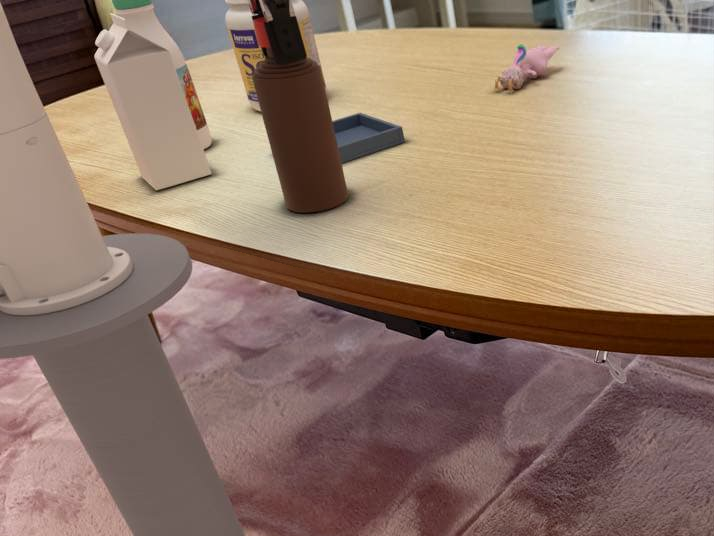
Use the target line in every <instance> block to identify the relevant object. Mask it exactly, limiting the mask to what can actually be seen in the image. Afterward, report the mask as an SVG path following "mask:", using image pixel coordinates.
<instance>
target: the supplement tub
mask: <svg viewBox="0 0 714 536" xmlns="http://www.w3.org/2000/svg"><path fill="white" fill-rule="evenodd" d="M224 2H225V4H226V5H228V6H229V8H228V9H227V11H226V13H225V16H224V19H225V25H226V28H227V32H228V35H229V39H230V43H231V45H232V48H233V52H234V56H235V59H236V62H237V65H238V69H239V73H240V76H241V79H242V83H243V86H244V89H245V93H246V96H247V101H248V102H249V105H250V106H251V107H252V108H253V109H254V110H255V111H258V112H261V109H260V106H259V102H258V98H257V94H256V91H255V87H254V83H253V79H252V75H253V71H254V70H255V69H256V68H257V66H258V65H260V64H261V61H263V60H265V56H264V55H263V52H262V49H261V47H260V46H259V44H258V40H257V36H256V32H255V28H254V24H253V20H252V16H254V15H252V13H251V11H250V8H249V4H248V0H224ZM291 2H292V5H293V8H294V11H295V16H296V18H297V21H298V25H299V29H300V32H301V36H302V39H303V43H304V47H305V50H306V54H307V58H310V59H311V60H312V61H316V62H317V65H319V66H320V67H321V72H322V76H323V81H324V85H325V90H326V91H327V84H326V80H325V76H324V71H323V68H322V62H321V59H320V55H319V50H318V47H317V46H318V45H317V43H316V38H315V33H314V29H313V25H312V22H311V21H312V20H311V17H310V12H309V9H308V6H307V5H306V3H305V2H304V1H303V0H291ZM256 15H258V14H256Z"/></svg>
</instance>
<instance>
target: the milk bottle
mask: <svg viewBox="0 0 714 536" xmlns="http://www.w3.org/2000/svg"><path fill="white" fill-rule="evenodd" d="M111 3H112V6H113V7H114V9H115V13H116V15H118V16H119V17H122V18H124V19H126V22H127V25H128V27H129V30H131V31H133V32H135V33H137V34H139V35H140V36H142V37H144V38H146V39H148V40H150V41H152V42H154V43H156V44H158V45H160V46H161V47H163V48H165V49H167V50H169V51H170V54H171V57H172V60H173V63H174V66H175V69H176V72H177V75H178V77H179V80H180V83H181V86H182V89H183V92H184V95H185V98H186V101H187V103H188V106H189V109H190V112H191V115H192V118H193V121H194V124H195V126H196V129H197V132H198V135H199V138H200V141H201V144H202V147H203V150H204V151H205V149H208V147H211V145H212V143H213V138H212V135H211V132H210V128H209V125H208V123H207V119H206V117H205V114H204V110H203V108H202V104H201V102H200V98H199V96H198V93H197V90H196V87H195V84H194V81H193V78H192V76H191V72H190V70H189V67H188V65H187V61H186V59H185V57H184V54H183V53H182V51H181V49H180V47H179V46H178V44H177V43H176V41H175V40H174V39H173V38H172V37H171V36H170V34H169V33H168V32H167V31H166V30H165V28H164V27H163V25H162V23H161V22H160V21H159V19H158V17H157V16H156V13H155V11H154V8H155V6H154V3H153V0H111Z"/></svg>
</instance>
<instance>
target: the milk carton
mask: <svg viewBox="0 0 714 536" xmlns="http://www.w3.org/2000/svg"><path fill="white" fill-rule="evenodd" d="M109 16H110V18H111V21H112V24H111V26H110V27H109V29H108V30H107V29H105V28H104V29H103V30H101V31H100V32H99V34H98V36H97V37H96V39H95V42H94V44H95V46H96V47H98V48H97V50H96V52H95V54H94V56H93V57H94V61H95V63H96V65H97V68H98V71H99V73H100V75H101V78H102V80H103V84H104V85H105V88H106V91H107V93H108V95H109V98H110V100H111V103H112V105H113V108H114V111H115V114H116V116H117V118H118V120H119V123H120V125H121V128H122V131H123V133H124V135H125V138H126V141H127V143H128V146H129V148H130V150H131V153H132V156H133V158H134V161H135V163H136V165H137V168H138V170H139V173H140V175H141V177H142V179H143V180H144V181H145V182H146V183H147V184H148V185H149V186H151V188H153V189H154V190H155V191H159V190H163V189H166V188H170V187H173V186H176V185H180V184H184V183H187V182H190V181H194V180H197V179H201V178H203V177H206V176H209V175H212V174H213V173H212V170H211V168H210V164H209V161H208V159H207V156H206V152H205V149H204V150H203V147H202V144H201V141H200V138H199V135H198V132H197V129H196V126H195V124H194V121H193V118H192V115H191V112H190V109H189V106H188V103H187V101H186V98H185V95H184V92H183V89H182V86H181V83H180V80H179V77H178V75H177V72H176V69H175V66H174V63H173V60H172V57H171V54H170V51H169V50H167V49H165V48H163V47H161V46H160V45H158V44H156V43H154V42H152V41H150V40H148V39H146V38H144V37H142V36H140V35H139V34H137V33H135V32H133V31H131V30H129V27H128V25H127V22H126V19H124V18H122V17H120V16H119V15H118V14H115V13H112V12H110V13H109Z"/></svg>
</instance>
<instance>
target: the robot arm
mask: <svg viewBox="0 0 714 536" xmlns="http://www.w3.org/2000/svg"><path fill="white" fill-rule="evenodd" d="M248 4H249V8H250V11H251V13H252V15H254V16H252V20H255V19H257V18H261V17H265V19H266V21H267V22H263V25H264V28H265V31H266V35H267V38H268V41H269V45H270V48H271V51H272V55H273V58H274V61H275V63H276V64H278V65H284V64H288V63H292V62H296V61H300V60H304V59H306V57H307V54H306V50H305V47H304V43H303V39H302V36H301V32H300V29H299V25H298V21H297V18H296V16H295V11H294V8H293V5H292V2H291V0H248ZM256 14H258V15H256ZM261 49H262V52H263V55H264V56H265V57H266V56H268V53H267V49H266V47H261ZM102 236H103V235H102V233H101V230H100V227H99V226H98V224H97V222H96V220H95V217H94V215H93V213H92V210H91V208H90V206H89V203H88V201H87V200H86V197H85V195H84V192H83V191H82V188H81V186H80V184H79V182H78V179H77V177H76V175H75V173H74V171H73V168H72V166H71V164H70V162H69V159H68V158H67V155H66V153H65V150H64V148H63V146H62V144H61V142H60V140H59V137H58V135H57V133H56V131H55V129H54V126H53V124H52V122H51V119H50V117H49V115H48V113H47V111H46V109H45V107H44V105H43V103H42V100H41V98H40V96H39V93H38V91H37V89H36V87H35V85H34V82H33V80H32V77H31V76H30V73H29V71H28V69H27V66H26V63H25V62H24V59H23V57H22V54H21V52H20V50H19V47H18V45H17V43H16V40H15V37H14V35H13V32H12V29H11V26H10V23H9V20H8V18H7V16H6V13H5V11H4V7H3V5H2V3H1V2H0V311H2V312H4V313H7V314H11V315H20V316H30V315H41V314H48V313H53V312H57V311H62V310H66V309H69V308H72V307H76V306H79V305H81V304H84V303H87V302H90V301H92V300H94V299H96V298H98V297H101V296H103V295H104V294H106V293H108V292H110V291H112V290H113V289H115V288H116V287H118V286H119V285H121V284H122V283H123V282H124V281H125V280H126V279H127V278H128V277H129V275H130V274H131V272H132V269H133V263H132V261H131V259H130V257H129V254H128V253H126V252H125V251H124V250H121V249H118V248H113V247H107V246H106V244H105V241H104V239H103V237H102Z"/></svg>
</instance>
